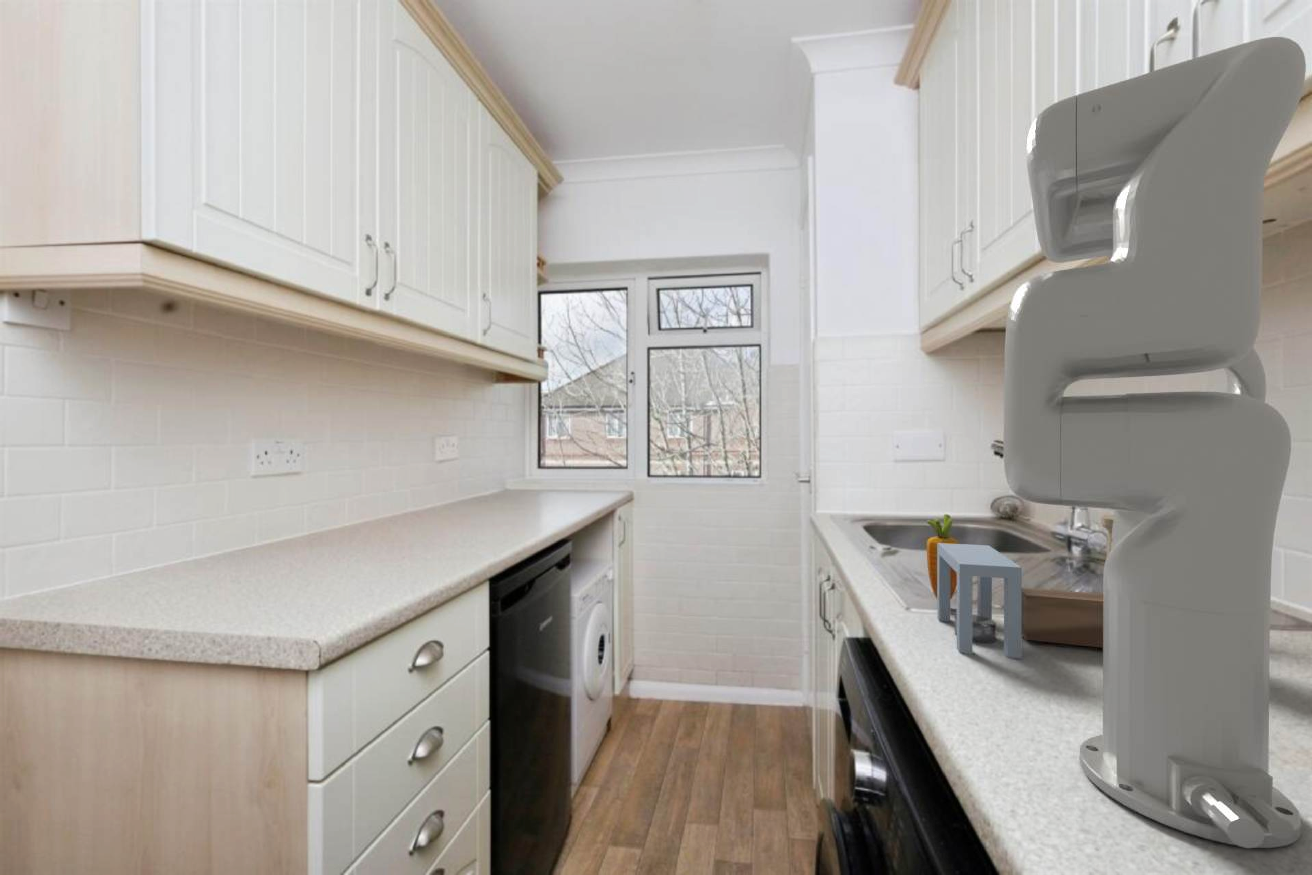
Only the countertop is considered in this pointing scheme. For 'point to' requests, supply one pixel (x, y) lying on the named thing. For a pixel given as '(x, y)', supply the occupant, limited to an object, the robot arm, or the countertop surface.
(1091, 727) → the countertop surface
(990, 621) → the grey metal short cylinder
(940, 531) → the carrot
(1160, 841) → the countertop surface
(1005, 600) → the low shelf
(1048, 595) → the brown block
